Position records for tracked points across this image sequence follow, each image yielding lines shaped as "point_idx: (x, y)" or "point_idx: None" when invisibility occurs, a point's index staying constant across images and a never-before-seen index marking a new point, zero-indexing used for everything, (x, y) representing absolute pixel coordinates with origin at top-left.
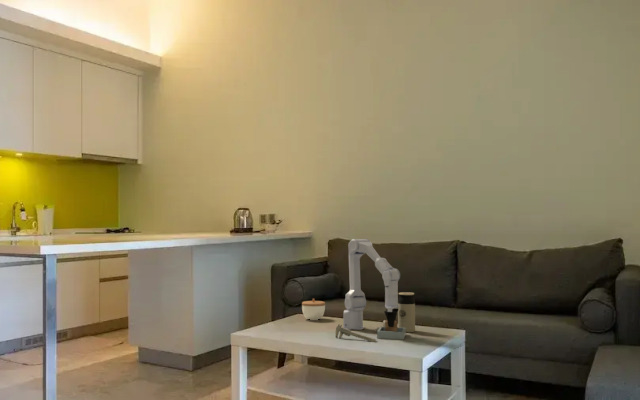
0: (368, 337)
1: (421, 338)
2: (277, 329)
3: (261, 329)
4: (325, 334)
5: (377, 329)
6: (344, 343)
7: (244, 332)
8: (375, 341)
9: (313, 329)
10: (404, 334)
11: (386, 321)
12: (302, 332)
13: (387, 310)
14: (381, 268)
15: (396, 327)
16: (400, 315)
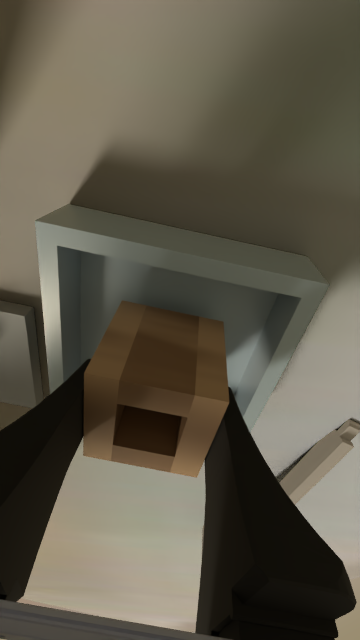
0: (325, 473)
1: (279, 13)
2: (84, 593)
3: (94, 607)
4: (145, 539)
5: (4, 396)
6: (344, 521)
7: (142, 623)
8: (352, 432)
9: (55, 550)
10: (192, 238)
11: (185, 468)
12: (118, 570)
13: (23, 581)
14: None
15: (216, 353)
16: None
